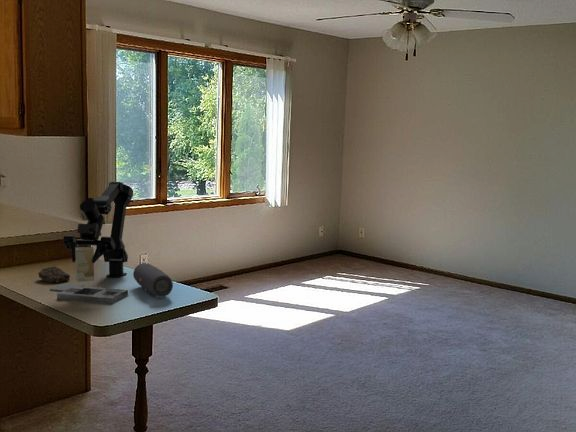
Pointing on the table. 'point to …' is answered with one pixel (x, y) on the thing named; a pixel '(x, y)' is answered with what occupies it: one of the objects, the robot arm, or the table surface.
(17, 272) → the table surface
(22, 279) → the table surface
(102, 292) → the grey black flat block
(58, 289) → the pad
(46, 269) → the concrete sample
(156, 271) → the bluetooth speaker
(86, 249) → the skincare box
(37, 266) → the table surface
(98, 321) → the table surface
